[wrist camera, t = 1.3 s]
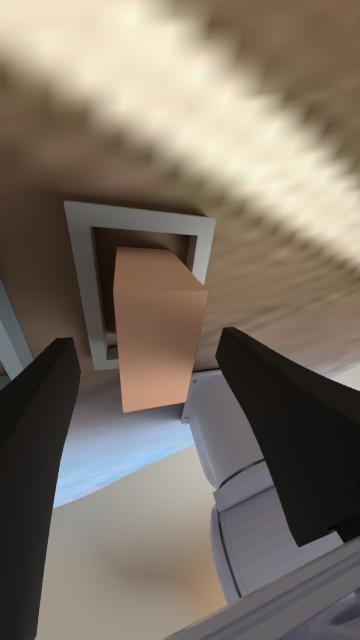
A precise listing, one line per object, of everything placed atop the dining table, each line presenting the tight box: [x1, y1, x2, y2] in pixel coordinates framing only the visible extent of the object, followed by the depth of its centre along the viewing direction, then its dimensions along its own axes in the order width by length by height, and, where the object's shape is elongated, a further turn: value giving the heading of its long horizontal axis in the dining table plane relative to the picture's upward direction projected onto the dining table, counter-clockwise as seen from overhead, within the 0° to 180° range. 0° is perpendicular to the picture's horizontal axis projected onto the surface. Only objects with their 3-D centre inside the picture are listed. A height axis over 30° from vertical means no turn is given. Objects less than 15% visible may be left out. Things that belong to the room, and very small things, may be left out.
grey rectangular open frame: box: [63, 200, 216, 371], centre depth 14 cm, size 12×8×2 cm
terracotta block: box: [113, 247, 209, 413], centre depth 11 cm, size 7×4×7 cm, turn 173°
